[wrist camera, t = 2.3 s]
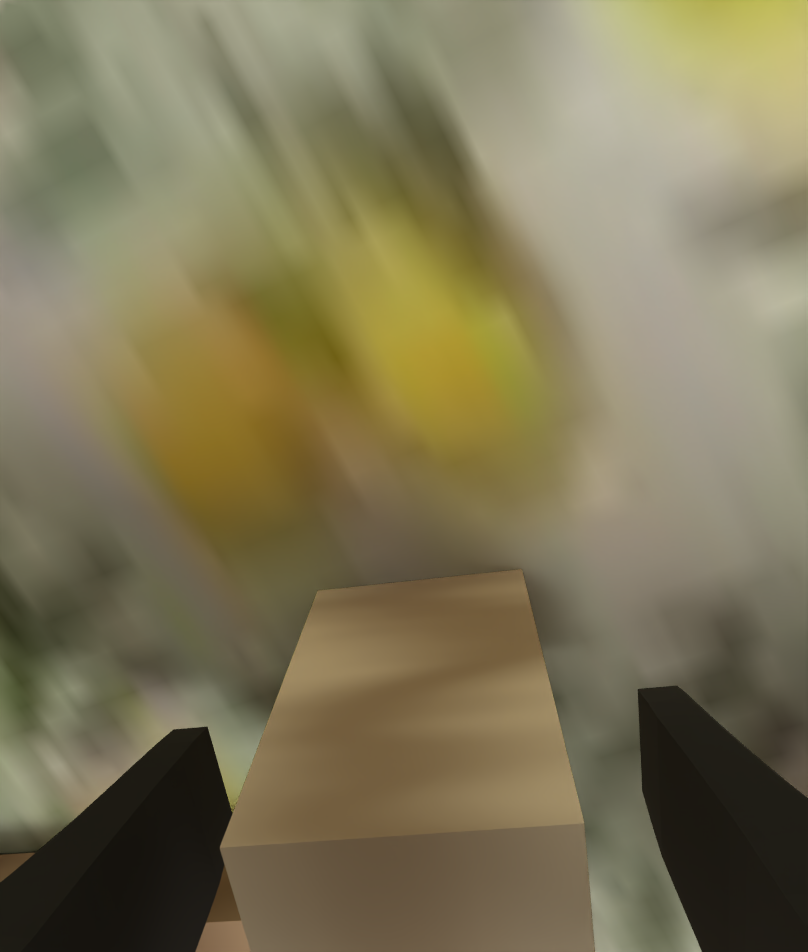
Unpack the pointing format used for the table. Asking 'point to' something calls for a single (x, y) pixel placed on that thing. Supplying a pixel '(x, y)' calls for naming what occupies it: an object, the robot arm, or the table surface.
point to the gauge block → (413, 782)
